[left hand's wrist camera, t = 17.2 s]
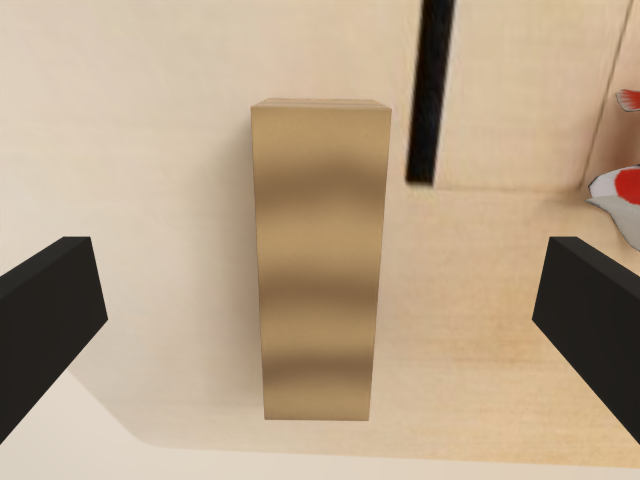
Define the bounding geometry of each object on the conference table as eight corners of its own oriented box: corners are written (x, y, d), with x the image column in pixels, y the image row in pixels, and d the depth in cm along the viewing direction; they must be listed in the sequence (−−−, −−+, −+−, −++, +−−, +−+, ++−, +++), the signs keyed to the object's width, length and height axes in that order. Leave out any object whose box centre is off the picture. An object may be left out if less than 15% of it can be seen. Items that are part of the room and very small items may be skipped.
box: (267, 98, 34) (250, 106, 26) (374, 99, 34) (391, 108, 26) (275, 352, 43) (264, 420, 35) (359, 353, 43) (368, 421, 35)
